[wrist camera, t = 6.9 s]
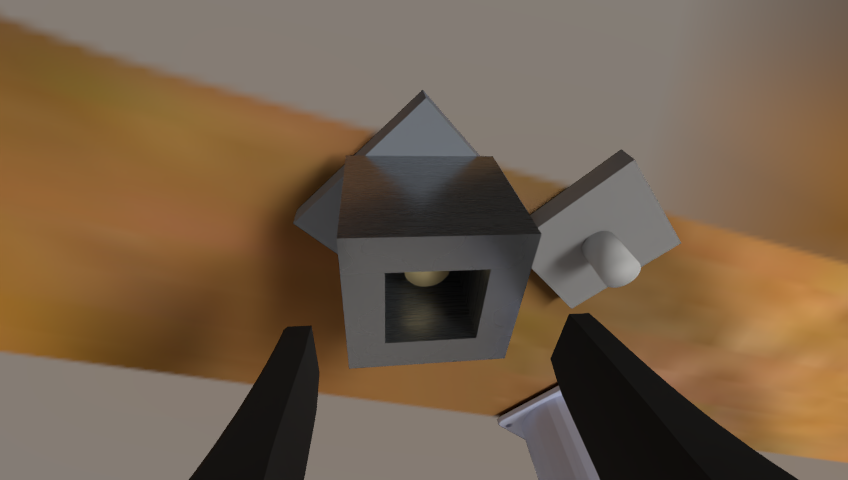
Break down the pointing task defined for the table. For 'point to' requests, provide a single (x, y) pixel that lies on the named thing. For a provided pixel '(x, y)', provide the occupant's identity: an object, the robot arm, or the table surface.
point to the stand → (600, 231)
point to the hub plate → (403, 136)
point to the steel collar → (431, 258)
